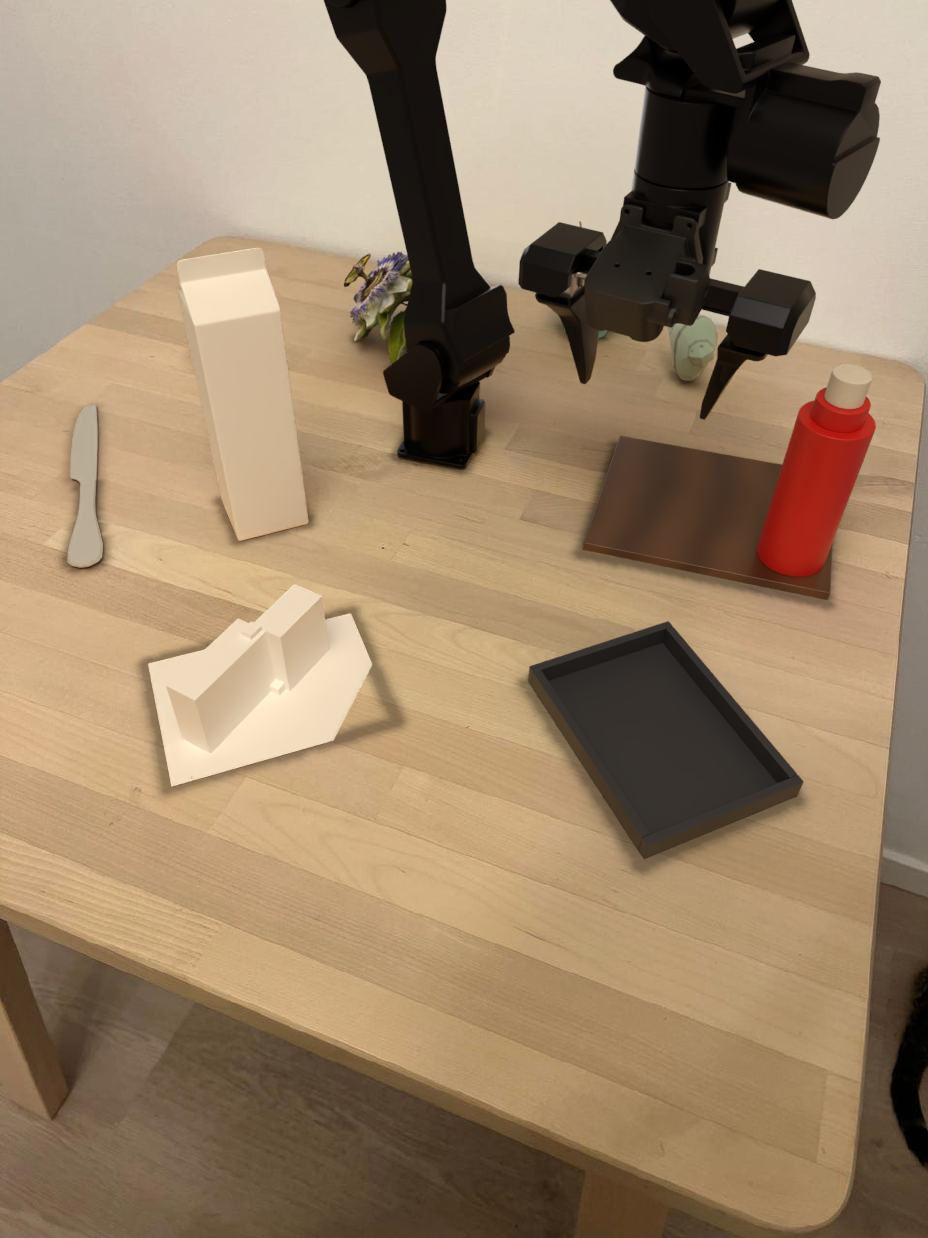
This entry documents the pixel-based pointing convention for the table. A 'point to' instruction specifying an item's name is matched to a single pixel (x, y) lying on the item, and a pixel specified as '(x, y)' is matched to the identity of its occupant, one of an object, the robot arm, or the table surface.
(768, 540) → the ketchup
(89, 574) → the table surface
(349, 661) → the white building model
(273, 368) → the milk
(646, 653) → the baking tray
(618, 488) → the serving board
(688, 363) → the robot head
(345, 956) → the table surface
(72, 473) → the butter knife
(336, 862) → the table surface
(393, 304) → the passion flower
